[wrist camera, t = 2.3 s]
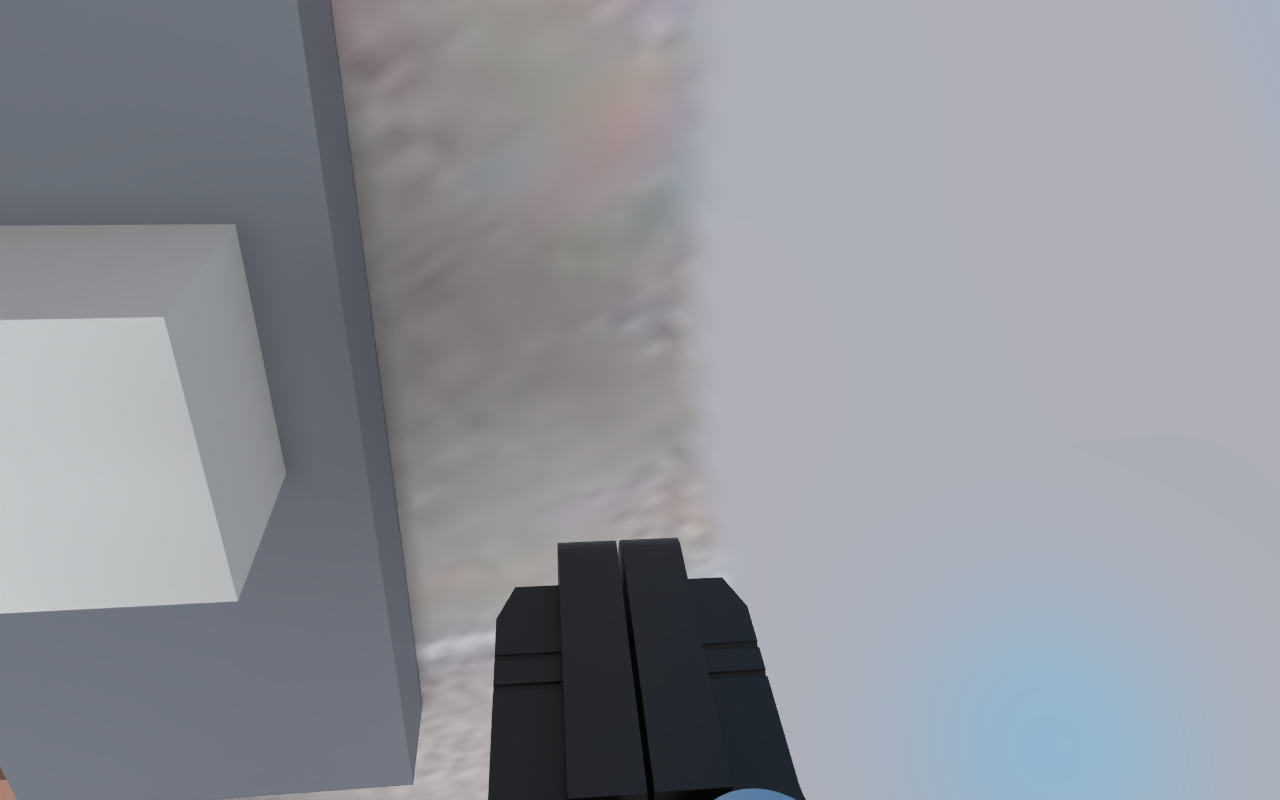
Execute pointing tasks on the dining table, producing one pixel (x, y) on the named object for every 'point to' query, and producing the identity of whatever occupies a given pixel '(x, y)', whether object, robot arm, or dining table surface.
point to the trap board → (301, 398)
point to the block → (130, 418)
